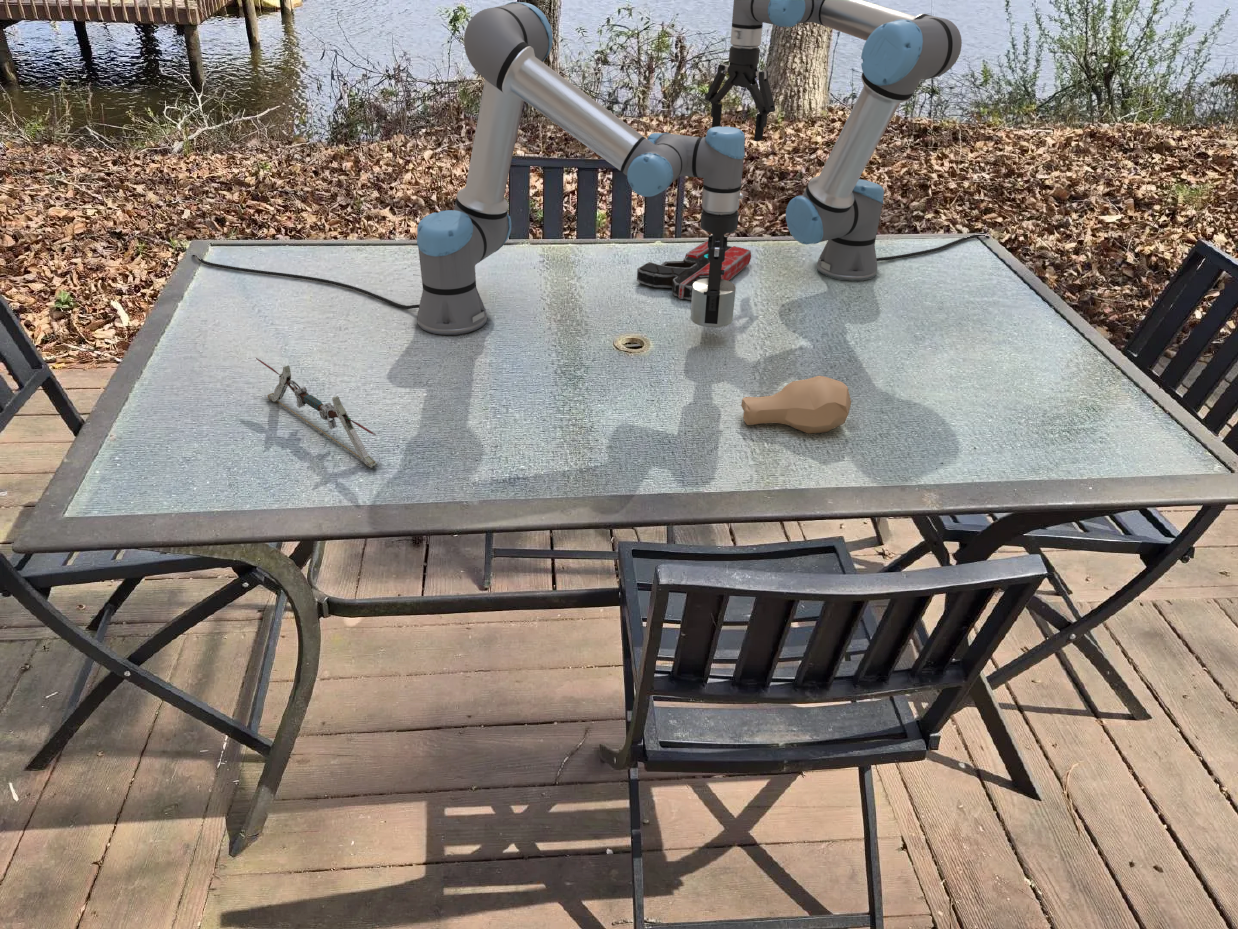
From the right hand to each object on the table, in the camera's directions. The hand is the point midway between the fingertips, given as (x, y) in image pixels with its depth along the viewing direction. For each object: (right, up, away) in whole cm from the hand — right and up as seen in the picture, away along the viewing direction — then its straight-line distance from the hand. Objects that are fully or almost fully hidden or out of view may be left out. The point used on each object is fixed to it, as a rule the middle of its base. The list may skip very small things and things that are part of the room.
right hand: (736, 135), depth 229 cm
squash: (+2, -79, -66) cm, 102 cm away
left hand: (-11, -53, -40) cm, 68 cm away
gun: (-11, -38, -6) cm, 40 cm away
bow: (-84, -80, -72) cm, 137 cm away
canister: (-11, -54, -40) cm, 68 cm away
